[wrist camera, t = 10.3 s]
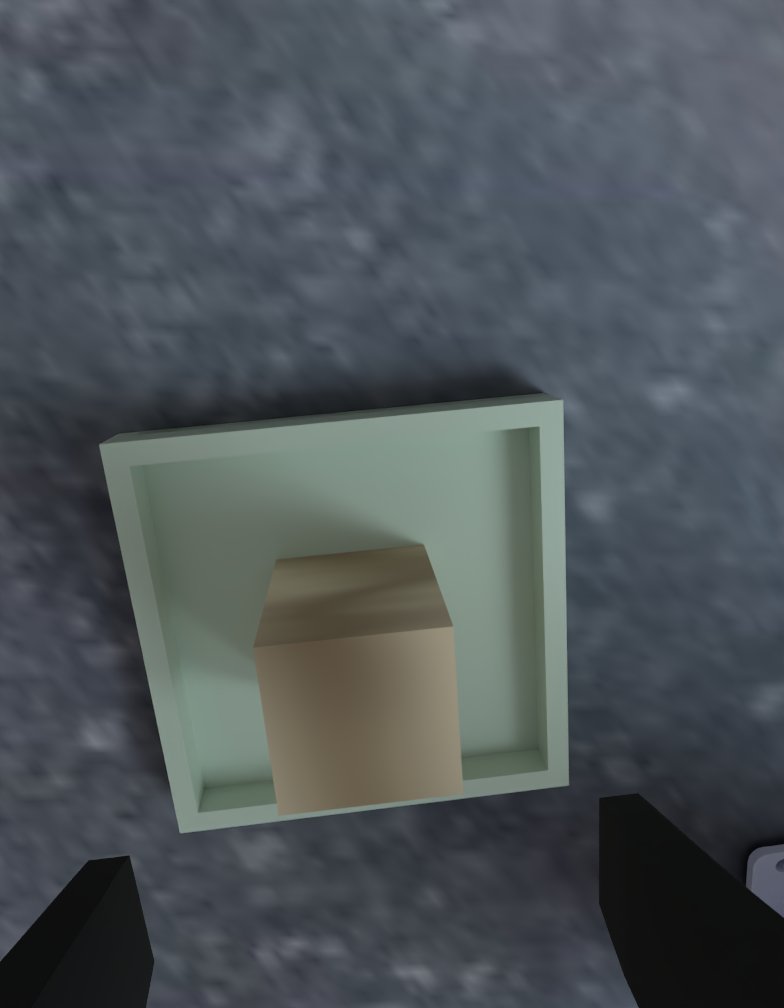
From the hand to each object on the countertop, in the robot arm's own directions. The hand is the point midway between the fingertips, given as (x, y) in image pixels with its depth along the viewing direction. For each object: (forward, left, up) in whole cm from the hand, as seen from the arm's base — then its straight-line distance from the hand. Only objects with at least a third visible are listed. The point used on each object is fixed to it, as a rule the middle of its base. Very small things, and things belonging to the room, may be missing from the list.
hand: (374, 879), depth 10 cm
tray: (0, 0, -9) cm, 9 cm away
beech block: (0, 0, -9) cm, 9 cm away
